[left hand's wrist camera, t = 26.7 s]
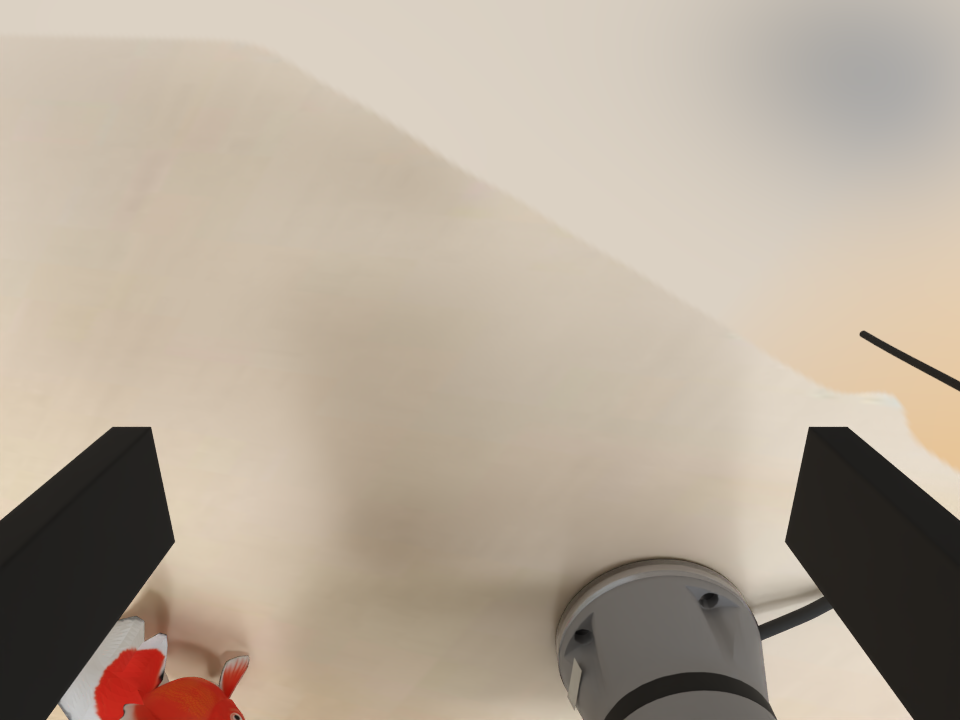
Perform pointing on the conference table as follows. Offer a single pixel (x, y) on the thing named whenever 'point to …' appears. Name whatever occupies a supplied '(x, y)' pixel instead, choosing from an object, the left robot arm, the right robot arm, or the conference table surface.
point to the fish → (146, 683)
